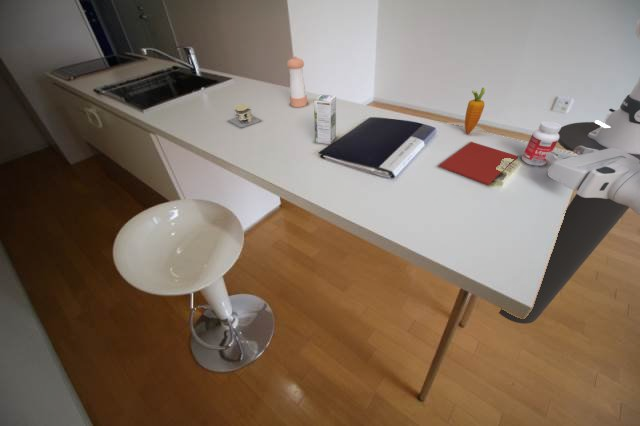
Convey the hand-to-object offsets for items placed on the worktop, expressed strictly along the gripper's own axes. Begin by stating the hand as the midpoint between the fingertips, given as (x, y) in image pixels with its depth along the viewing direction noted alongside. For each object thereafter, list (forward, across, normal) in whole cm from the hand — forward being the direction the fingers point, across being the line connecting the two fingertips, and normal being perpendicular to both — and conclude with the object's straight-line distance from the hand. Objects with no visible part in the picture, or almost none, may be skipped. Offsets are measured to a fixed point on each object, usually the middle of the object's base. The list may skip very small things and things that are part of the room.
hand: (562, 151), depth 75 cm
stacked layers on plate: (+71, +77, +6) cm, 105 cm away
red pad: (+11, +15, +6) cm, 19 cm away
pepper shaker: (+81, +52, +6) cm, 96 cm away
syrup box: (+42, +52, +6) cm, 67 cm away
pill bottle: (+6, 0, +6) cm, 8 cm away
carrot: (+28, +5, +6) cm, 29 cm away
